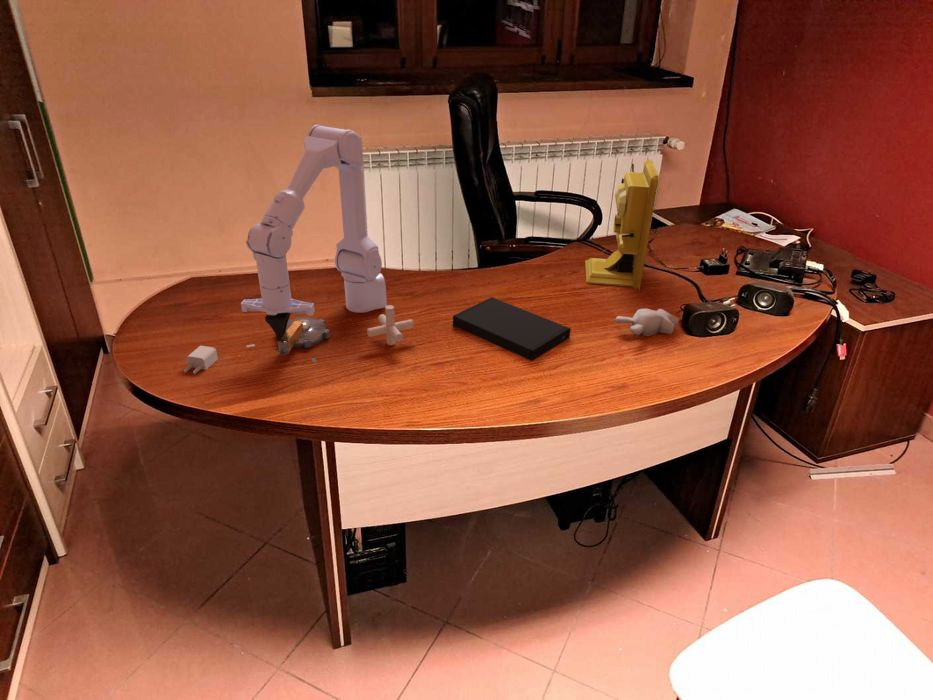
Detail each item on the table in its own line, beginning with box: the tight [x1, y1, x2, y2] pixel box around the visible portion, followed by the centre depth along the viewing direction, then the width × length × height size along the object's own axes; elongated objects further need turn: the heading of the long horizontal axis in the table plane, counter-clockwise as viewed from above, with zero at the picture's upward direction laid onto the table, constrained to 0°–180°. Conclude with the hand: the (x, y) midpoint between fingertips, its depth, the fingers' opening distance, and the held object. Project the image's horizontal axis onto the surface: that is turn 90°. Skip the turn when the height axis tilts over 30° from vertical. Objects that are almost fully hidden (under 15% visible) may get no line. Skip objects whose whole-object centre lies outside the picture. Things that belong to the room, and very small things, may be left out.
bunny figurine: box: [613, 308, 680, 337], centre depth 150 cm, size 10×5×15 cm
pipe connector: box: [366, 304, 415, 346], centre depth 139 cm, size 10×10×10 cm
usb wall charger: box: [183, 345, 219, 375], centre depth 131 cm, size 4×7×4 cm, turn 167°
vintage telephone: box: [584, 158, 659, 291], centre depth 173 cm, size 31×14×30 cm, turn 172°
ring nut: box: [277, 316, 331, 356], centre depth 139 cm, size 17×12×4 cm
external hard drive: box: [452, 296, 571, 362], centre depth 149 cm, size 14×23×3 cm, turn 48°
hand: (282, 342), depth 136 cm, fingers closed
